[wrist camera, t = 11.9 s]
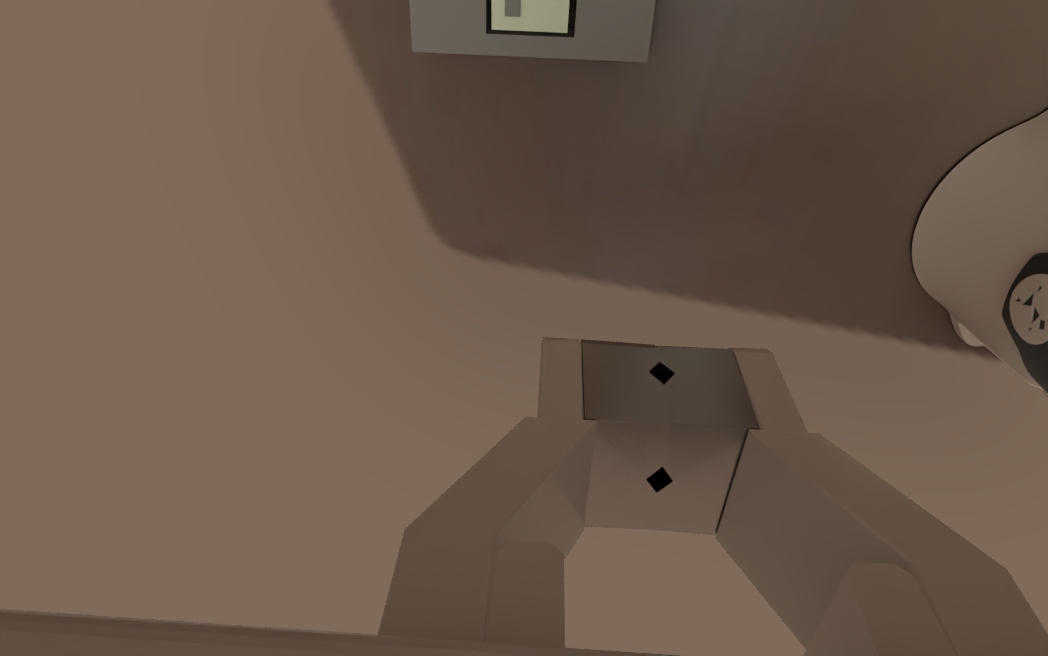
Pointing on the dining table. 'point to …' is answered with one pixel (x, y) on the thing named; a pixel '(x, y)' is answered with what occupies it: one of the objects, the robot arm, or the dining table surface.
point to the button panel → (598, 34)
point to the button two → (530, 15)
